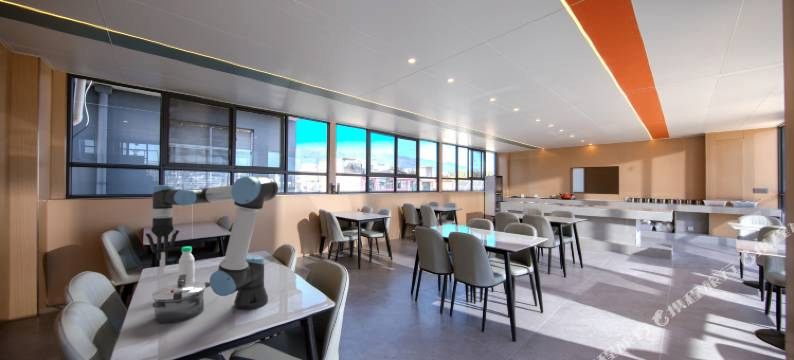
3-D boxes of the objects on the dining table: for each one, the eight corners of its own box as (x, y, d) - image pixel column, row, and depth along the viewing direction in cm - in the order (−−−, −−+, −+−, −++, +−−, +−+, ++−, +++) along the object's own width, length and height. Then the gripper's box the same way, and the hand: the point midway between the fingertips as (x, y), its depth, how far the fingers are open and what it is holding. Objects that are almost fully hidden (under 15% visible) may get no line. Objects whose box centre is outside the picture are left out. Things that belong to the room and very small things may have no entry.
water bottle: (197, 290, 163) (197, 246, 163) (184, 295, 156) (184, 248, 157) (188, 289, 165) (188, 245, 165) (175, 293, 159) (175, 247, 159)
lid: (205, 295, 129) (205, 286, 129) (147, 306, 118) (147, 296, 118) (206, 278, 153) (206, 270, 153) (158, 285, 142) (158, 277, 142)
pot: (173, 328, 121) (173, 304, 121) (138, 323, 125) (138, 300, 125) (224, 302, 147) (224, 282, 147) (193, 299, 151) (193, 280, 151)
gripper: (146, 219, 132) (146, 271, 132) (181, 216, 142) (181, 264, 142) (143, 217, 137) (143, 267, 137) (177, 215, 147) (177, 262, 147)
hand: (162, 266), depth 139 cm, fingers closed
